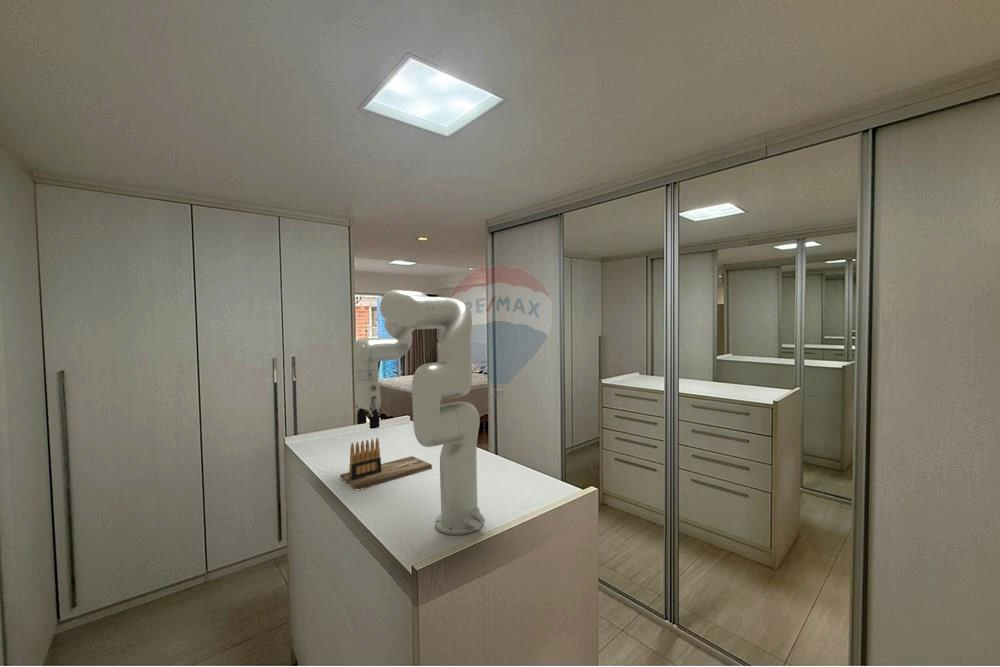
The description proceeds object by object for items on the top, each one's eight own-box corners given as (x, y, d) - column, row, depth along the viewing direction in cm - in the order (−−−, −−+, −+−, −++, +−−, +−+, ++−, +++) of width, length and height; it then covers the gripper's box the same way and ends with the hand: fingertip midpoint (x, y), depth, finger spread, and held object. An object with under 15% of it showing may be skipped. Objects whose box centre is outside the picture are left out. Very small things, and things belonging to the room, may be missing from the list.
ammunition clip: (351, 479, 135) (350, 443, 135) (349, 478, 136) (348, 442, 136) (381, 471, 142) (380, 437, 142) (379, 470, 144) (378, 436, 143)
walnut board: (431, 468, 149) (431, 464, 149) (357, 490, 130) (357, 485, 130) (412, 459, 159) (412, 455, 159) (340, 478, 141) (340, 474, 141)
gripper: (389, 376, 135) (390, 427, 135) (366, 373, 148) (367, 420, 148) (367, 378, 130) (368, 432, 130) (345, 375, 143) (347, 423, 143)
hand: (368, 425), depth 139 cm, fingers open, 9 cm apart
